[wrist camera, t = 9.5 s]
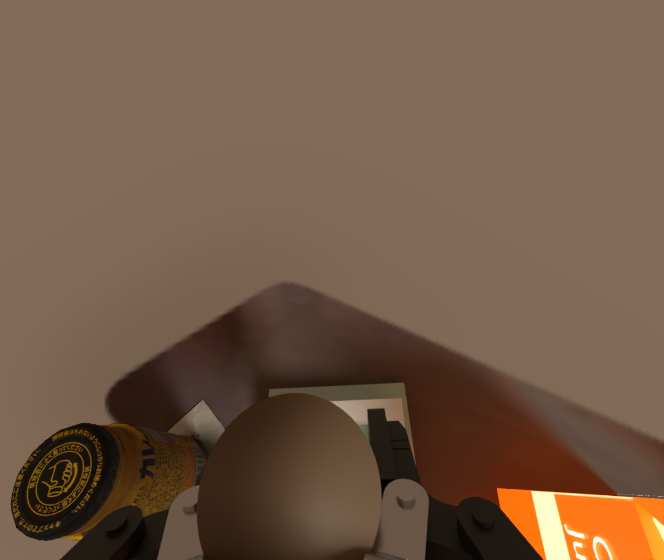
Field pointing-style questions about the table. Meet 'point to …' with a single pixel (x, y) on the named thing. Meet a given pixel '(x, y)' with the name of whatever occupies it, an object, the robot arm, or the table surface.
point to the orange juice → (587, 524)
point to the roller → (290, 485)
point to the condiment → (109, 473)
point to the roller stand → (363, 402)
